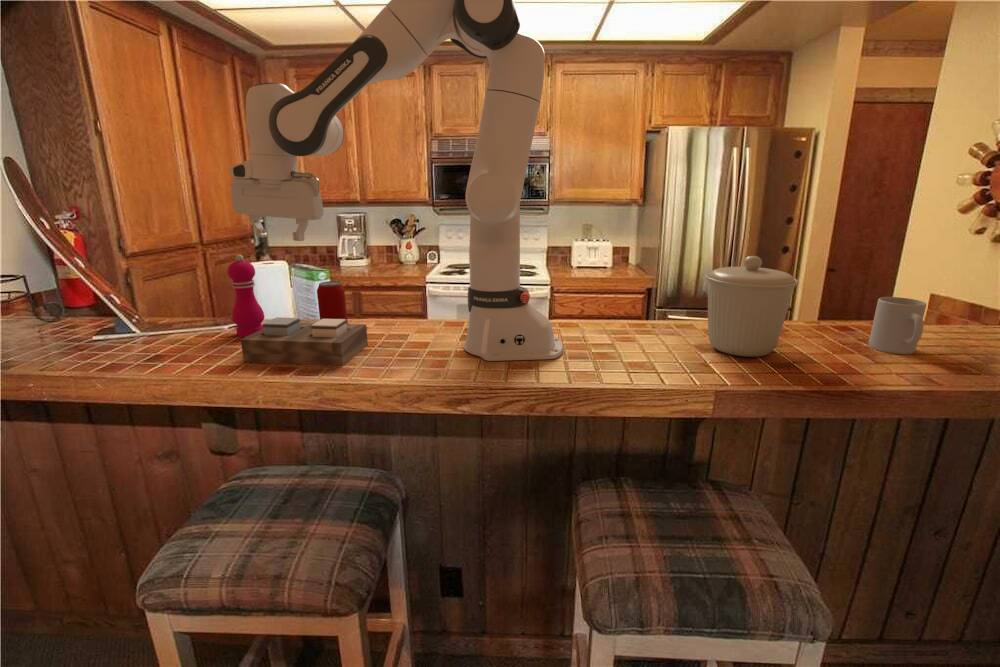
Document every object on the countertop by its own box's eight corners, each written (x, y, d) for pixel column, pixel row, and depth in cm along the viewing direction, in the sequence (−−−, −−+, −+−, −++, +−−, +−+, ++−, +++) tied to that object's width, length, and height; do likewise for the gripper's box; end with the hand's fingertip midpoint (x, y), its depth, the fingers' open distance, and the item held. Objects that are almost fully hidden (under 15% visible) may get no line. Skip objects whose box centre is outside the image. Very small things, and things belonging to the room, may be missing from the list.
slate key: (302, 339, 114) (299, 317, 113) (289, 346, 109) (286, 324, 108) (279, 338, 115) (276, 317, 113) (265, 345, 110) (262, 323, 108)
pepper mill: (261, 328, 132) (249, 251, 126) (270, 333, 127) (259, 254, 121) (231, 333, 127) (218, 254, 121) (240, 339, 122) (226, 257, 116)
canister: (681, 340, 119) (691, 252, 113) (748, 336, 123) (761, 249, 117) (730, 367, 102) (744, 264, 96) (806, 360, 106) (824, 260, 100)
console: (367, 345, 117) (366, 324, 116) (343, 365, 104) (340, 342, 103) (279, 342, 120) (276, 322, 118) (244, 362, 106) (240, 339, 105)
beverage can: (352, 325, 134) (347, 280, 131) (342, 332, 128) (337, 285, 124) (327, 324, 135) (323, 280, 131) (316, 331, 128) (311, 285, 125)
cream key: (348, 340, 113) (346, 319, 111) (338, 348, 108) (335, 325, 106) (325, 339, 114) (322, 318, 112) (313, 347, 108) (311, 325, 107)
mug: (860, 342, 118) (869, 296, 115) (899, 343, 117) (910, 297, 113) (891, 359, 106) (902, 308, 103) (935, 360, 105) (948, 309, 102)
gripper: (327, 173, 103) (331, 241, 107) (245, 169, 108) (252, 233, 112) (308, 172, 97) (312, 244, 101) (222, 168, 102) (229, 236, 106)
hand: (280, 238), depth 107 cm, fingers open, 8 cm apart
